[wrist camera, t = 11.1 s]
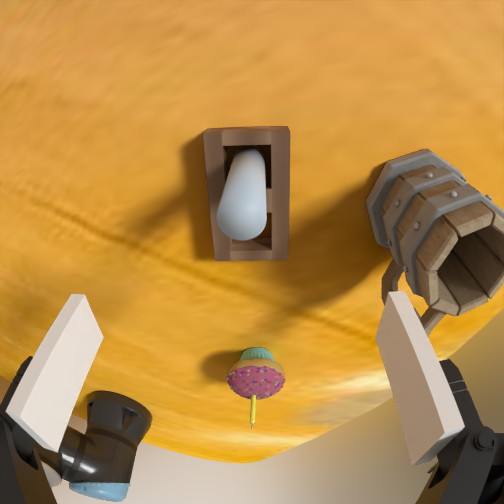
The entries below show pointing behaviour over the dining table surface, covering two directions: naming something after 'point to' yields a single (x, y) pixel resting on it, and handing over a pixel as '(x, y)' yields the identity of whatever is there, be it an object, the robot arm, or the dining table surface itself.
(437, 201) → the tankard
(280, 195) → the hole block
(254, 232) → the dowel
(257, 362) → the cupcake
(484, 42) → the dining table surface
